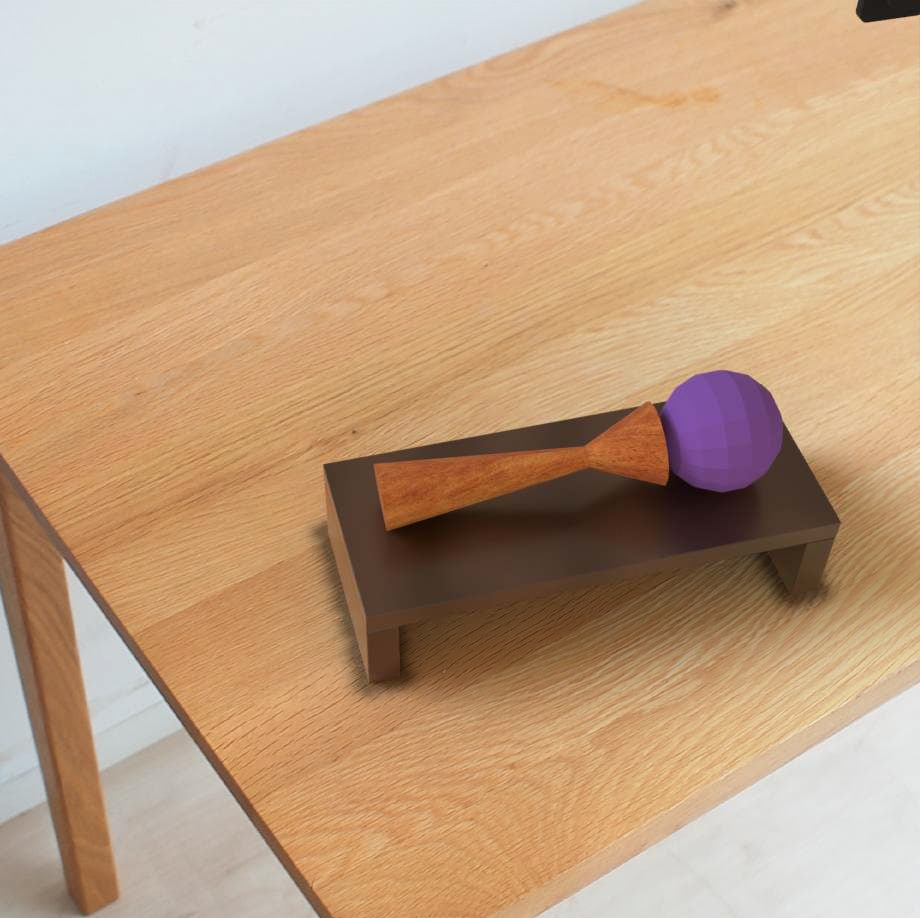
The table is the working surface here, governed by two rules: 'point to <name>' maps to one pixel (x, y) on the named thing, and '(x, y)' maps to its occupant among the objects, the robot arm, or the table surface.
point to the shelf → (557, 533)
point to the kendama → (610, 452)
